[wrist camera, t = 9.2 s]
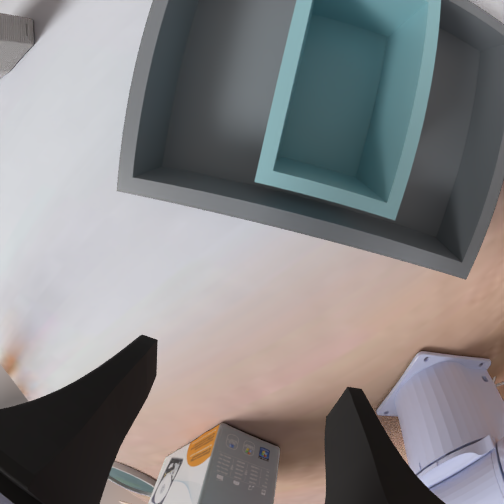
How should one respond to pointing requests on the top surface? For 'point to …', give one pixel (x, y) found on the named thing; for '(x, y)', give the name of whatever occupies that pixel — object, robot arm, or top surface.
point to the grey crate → (256, 119)
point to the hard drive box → (219, 470)
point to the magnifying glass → (131, 479)
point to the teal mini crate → (351, 101)
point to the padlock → (14, 40)
